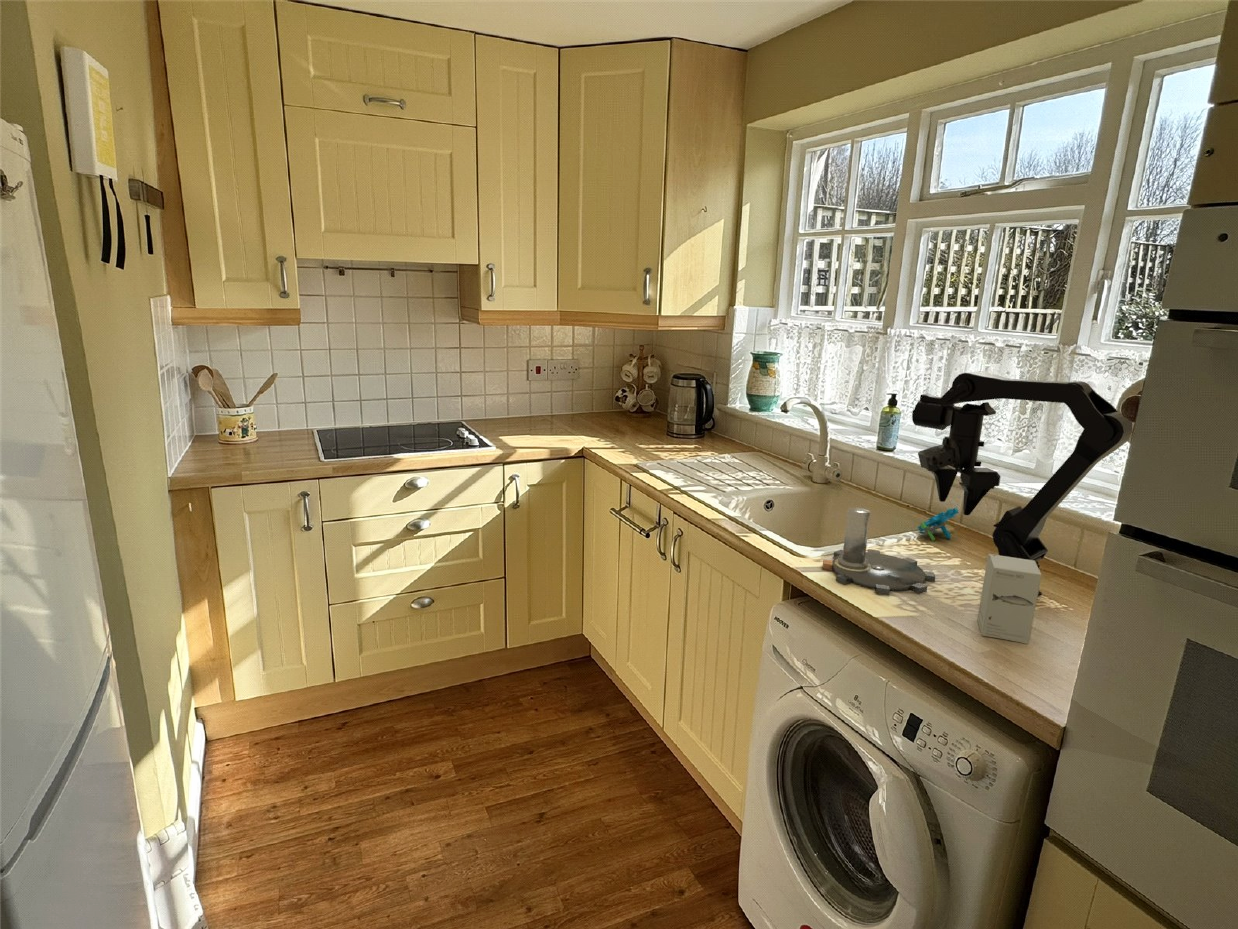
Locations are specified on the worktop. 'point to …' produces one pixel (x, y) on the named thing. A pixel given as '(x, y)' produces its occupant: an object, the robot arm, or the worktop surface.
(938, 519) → the cyan green stick cluster
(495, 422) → the worktop surface
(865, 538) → the pin
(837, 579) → the sprocket plate
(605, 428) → the worktop surface
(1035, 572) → the supplement box
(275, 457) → the worktop surface
